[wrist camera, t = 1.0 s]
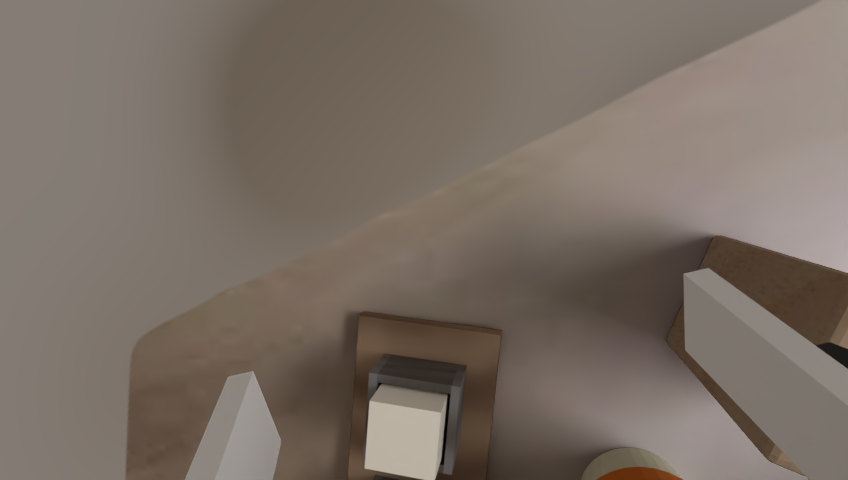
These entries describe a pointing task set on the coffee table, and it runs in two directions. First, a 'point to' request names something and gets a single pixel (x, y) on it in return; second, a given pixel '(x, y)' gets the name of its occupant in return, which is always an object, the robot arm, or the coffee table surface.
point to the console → (429, 386)
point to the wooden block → (784, 298)
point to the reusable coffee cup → (629, 466)
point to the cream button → (406, 431)
